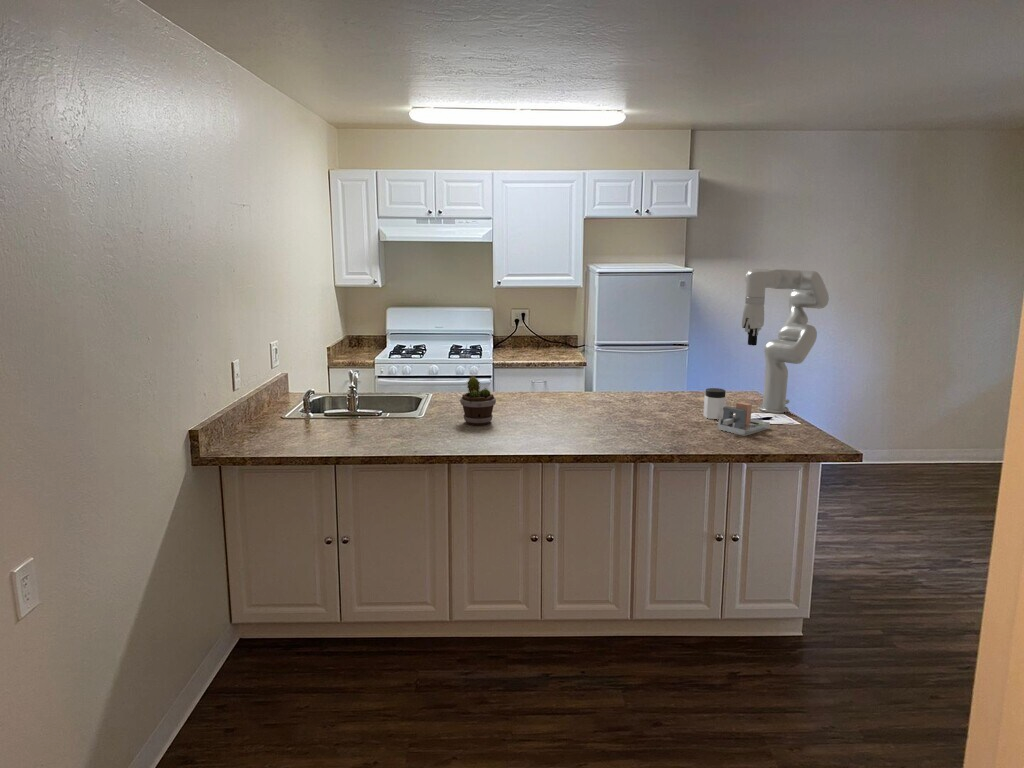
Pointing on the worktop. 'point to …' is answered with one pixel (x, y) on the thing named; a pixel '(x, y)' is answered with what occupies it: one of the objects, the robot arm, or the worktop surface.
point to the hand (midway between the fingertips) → (752, 344)
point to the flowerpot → (477, 404)
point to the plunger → (747, 416)
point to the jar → (714, 403)
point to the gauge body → (740, 422)
